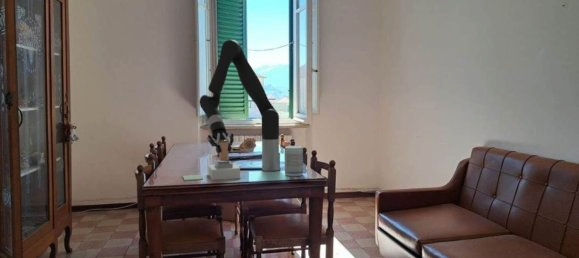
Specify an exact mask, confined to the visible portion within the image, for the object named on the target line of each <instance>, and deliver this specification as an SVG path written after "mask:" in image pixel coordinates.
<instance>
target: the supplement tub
mask: <svg viewBox="0 0 579 258" xmlns="http://www.w3.org/2000/svg"><path fill="white" fill-rule="evenodd" d="M303 174H304V146H300V145H287V146H285V147H284V175H285V176H286V177H294V178H295V177H301V176H303Z"/></svg>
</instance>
